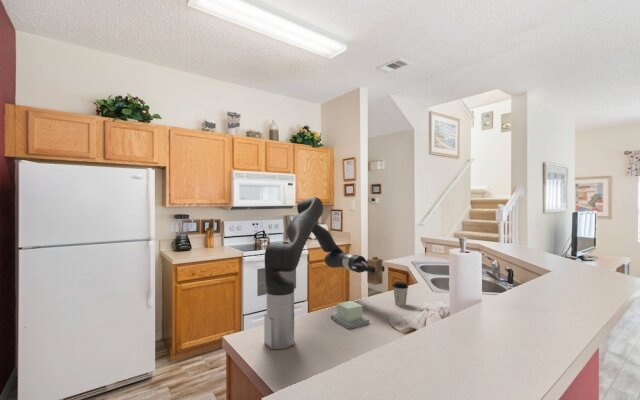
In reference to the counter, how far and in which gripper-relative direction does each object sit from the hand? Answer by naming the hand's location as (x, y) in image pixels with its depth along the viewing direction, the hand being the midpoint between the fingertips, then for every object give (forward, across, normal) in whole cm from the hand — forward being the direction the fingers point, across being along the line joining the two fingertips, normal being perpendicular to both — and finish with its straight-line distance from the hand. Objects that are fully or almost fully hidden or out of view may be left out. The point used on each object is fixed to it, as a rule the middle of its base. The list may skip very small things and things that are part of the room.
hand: (379, 269), depth 127 cm
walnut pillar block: (-3, 0, +6) cm, 7 cm away
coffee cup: (-5, +17, +19) cm, 26 cm away
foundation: (-2, -14, +19) cm, 24 cm away
